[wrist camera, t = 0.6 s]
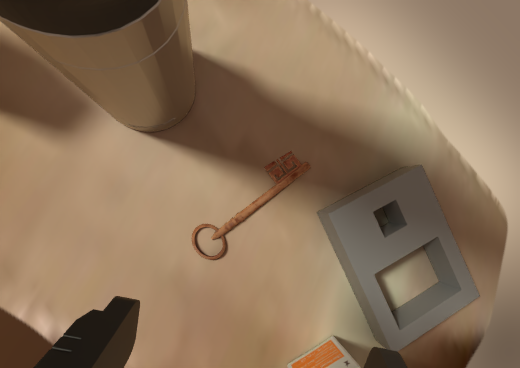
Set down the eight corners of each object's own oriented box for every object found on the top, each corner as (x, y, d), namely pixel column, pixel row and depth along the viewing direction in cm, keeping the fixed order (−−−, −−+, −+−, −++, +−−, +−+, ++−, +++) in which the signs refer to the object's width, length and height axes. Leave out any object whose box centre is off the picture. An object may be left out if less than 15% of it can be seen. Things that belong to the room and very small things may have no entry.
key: (285, 138, 32) (173, 220, 29) (287, 136, 31) (172, 220, 28) (317, 179, 32) (208, 266, 29) (320, 178, 31) (207, 267, 28)
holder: (316, 212, 31) (328, 213, 28) (402, 167, 34) (421, 164, 31) (375, 339, 32) (393, 354, 29) (456, 287, 34) (479, 296, 31)
